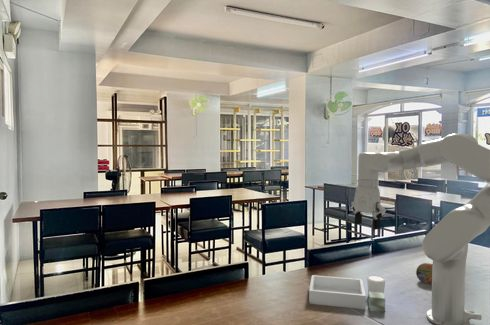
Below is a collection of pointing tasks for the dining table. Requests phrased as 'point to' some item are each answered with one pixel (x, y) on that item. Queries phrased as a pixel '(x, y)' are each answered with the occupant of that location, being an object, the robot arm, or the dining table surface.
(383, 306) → the cube
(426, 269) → the tin
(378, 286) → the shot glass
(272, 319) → the dining table surface
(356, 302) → the tote
